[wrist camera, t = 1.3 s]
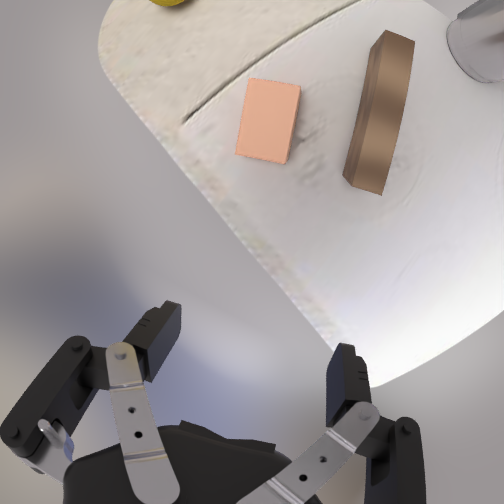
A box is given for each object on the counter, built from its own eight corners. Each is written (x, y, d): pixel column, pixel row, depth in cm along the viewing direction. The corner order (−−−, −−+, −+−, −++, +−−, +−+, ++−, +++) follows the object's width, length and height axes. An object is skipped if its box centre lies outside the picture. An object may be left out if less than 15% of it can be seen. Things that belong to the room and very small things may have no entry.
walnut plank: (370, 48, 24) (385, 29, 17) (394, 57, 23) (415, 41, 17) (342, 175, 31) (351, 186, 24) (366, 182, 30) (381, 195, 24)
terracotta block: (257, 85, 28) (249, 77, 24) (301, 93, 28) (300, 86, 23) (245, 151, 32) (234, 154, 27) (287, 159, 31) (284, 164, 27)
